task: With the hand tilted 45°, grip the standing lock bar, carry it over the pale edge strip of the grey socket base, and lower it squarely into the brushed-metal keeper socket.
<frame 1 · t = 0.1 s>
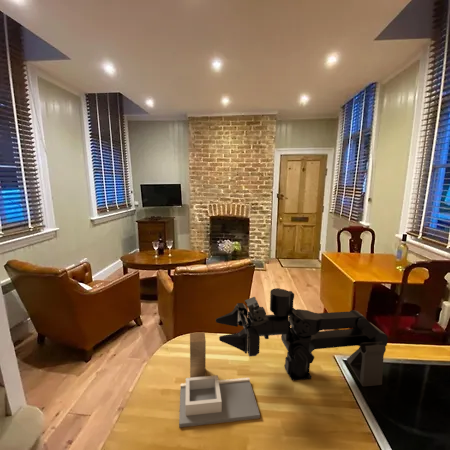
hand: (217, 329, 75), 17 cm above the kitchen counter, tool horizontal, fingers open, 9 cm apart
phone stand: (363, 372, 80), point 1 cm above the kitchen counter
lock bar: (197, 374, 80), on the kitchen counter
grey socket base: (217, 402, 70), on the kitchen counter
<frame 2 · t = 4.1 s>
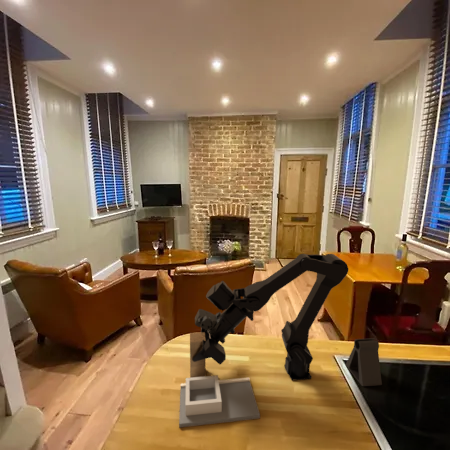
hand: (192, 355, 78), 7 cm above the kitchen counter, tool tilted 45°, fingers closed on lock bar, 4 cm apart
phone stand: (362, 375, 80), on the kitchen counter
lock bar: (197, 374, 80), on the kitchen counter, touching gripper
when the fingers open (9 cm above the kitchen counter, at t = 8.0 s): lock bar stays where it is, resting on grey socket base.
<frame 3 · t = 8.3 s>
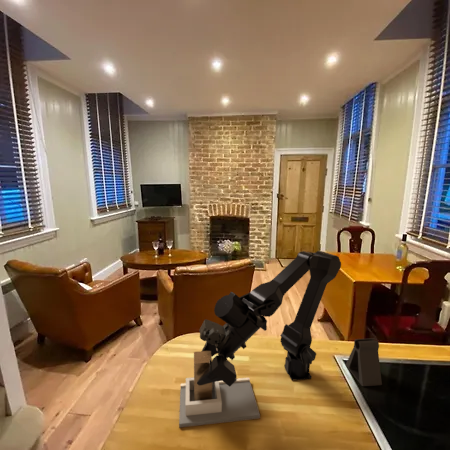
hand: (197, 372, 68), 9 cm above the kitchen counter, tool tilted 45°, fingers open, 7 cm apart
lock bar: (202, 398, 69), point 1 cm above the kitchen counter, touching grey socket base
everything else where it was.
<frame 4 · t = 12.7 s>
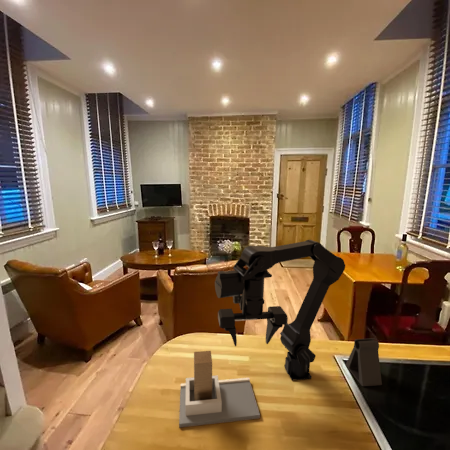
hand: (251, 344, 74), 13 cm above the kitchen counter, tool pointing down, fingers open, 9 cm apart
nothing on the kitchen counter moved.
at the end: lock bar 0.1 cm from the target spot, point 1.0 cm above the kitchen counter; lock bar tilted 0°; the gripper is holding nothing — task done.
